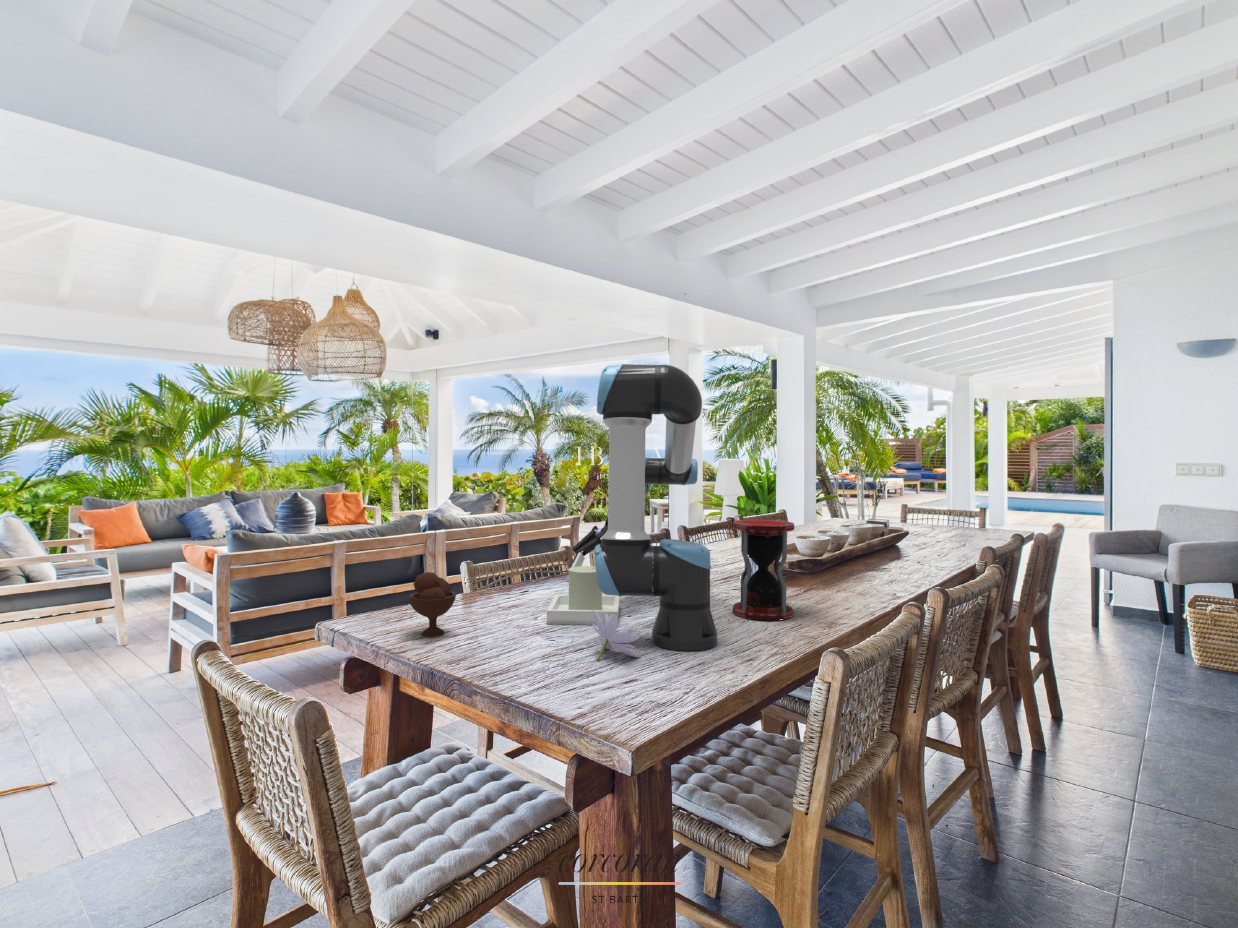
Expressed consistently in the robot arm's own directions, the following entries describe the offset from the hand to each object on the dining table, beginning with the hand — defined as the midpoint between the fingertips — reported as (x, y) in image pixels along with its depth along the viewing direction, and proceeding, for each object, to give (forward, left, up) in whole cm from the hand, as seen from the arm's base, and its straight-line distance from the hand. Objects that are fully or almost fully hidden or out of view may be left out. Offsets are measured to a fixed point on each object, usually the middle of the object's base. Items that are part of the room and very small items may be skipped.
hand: (592, 577), depth 181 cm
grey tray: (-4, +2, -10) cm, 11 cm away
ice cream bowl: (-23, +37, -10) cm, 44 cm away
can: (-4, +2, -9) cm, 10 cm away
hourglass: (+1, -46, -10) cm, 47 cm away
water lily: (-37, -8, -10) cm, 39 cm away
